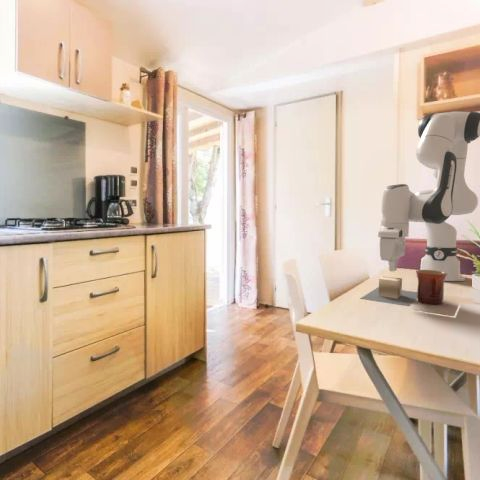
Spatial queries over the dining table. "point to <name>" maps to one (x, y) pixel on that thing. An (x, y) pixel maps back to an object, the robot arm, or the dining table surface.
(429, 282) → the mug
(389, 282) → the letter block
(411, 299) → the mat
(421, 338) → the dining table surface
